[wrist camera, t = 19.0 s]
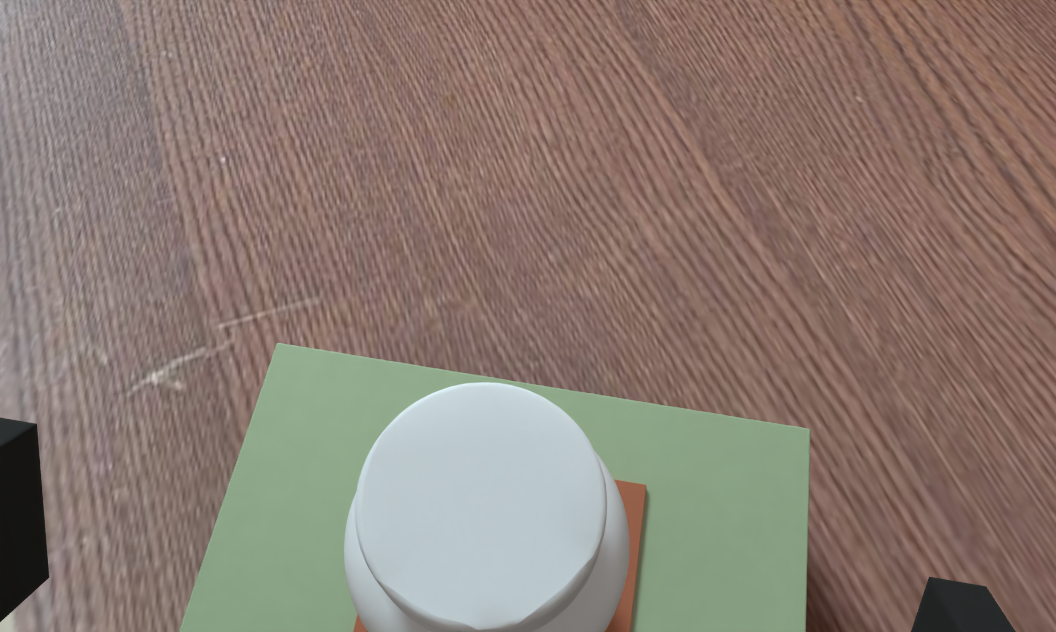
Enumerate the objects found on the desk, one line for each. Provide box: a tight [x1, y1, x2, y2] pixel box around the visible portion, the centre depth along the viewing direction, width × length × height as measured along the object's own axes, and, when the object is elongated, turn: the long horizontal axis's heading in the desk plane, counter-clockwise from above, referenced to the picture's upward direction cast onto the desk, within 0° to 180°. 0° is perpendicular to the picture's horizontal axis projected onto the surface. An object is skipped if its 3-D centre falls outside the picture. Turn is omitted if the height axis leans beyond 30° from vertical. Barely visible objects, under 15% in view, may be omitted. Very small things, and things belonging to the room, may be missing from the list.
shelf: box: [179, 343, 810, 632], centre depth 24 cm, size 16×12×5 cm
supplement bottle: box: [344, 382, 630, 632], centre depth 17 cm, size 5×5×10 cm
